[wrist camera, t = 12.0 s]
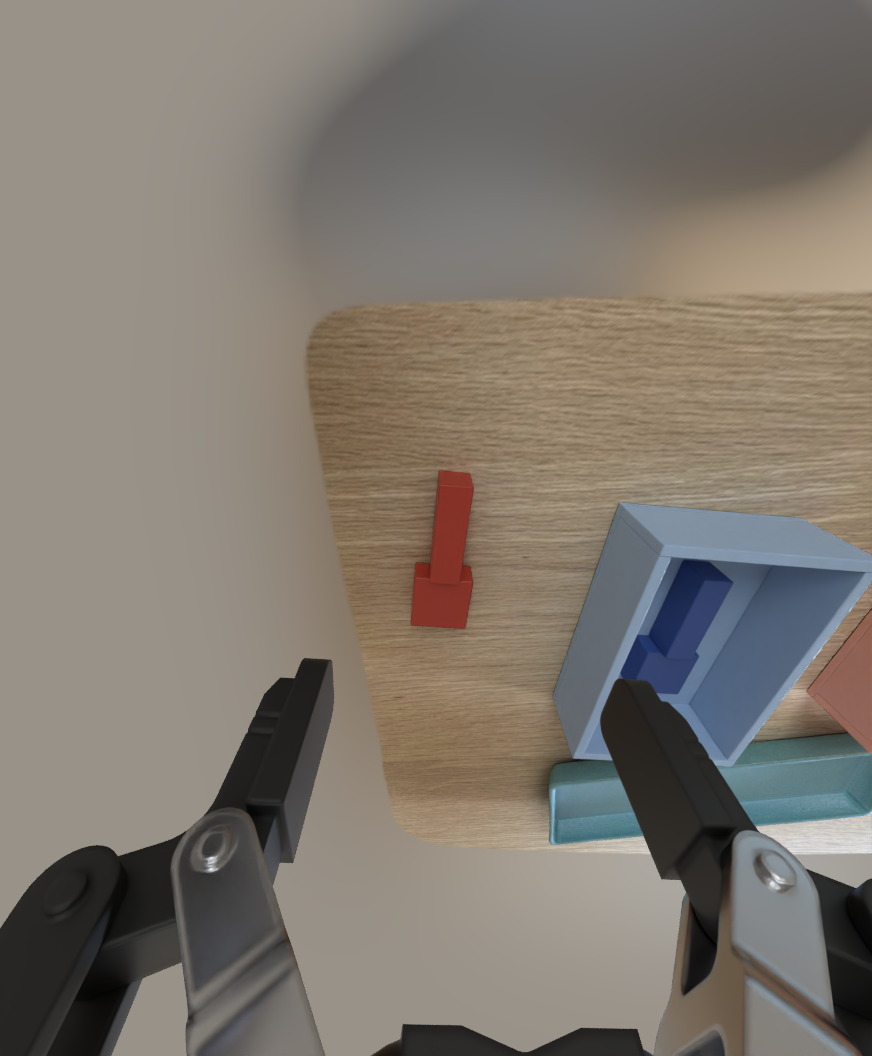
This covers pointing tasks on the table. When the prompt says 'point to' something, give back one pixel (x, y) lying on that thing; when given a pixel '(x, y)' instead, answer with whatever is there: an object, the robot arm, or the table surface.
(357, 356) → the table surface
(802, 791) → the rectangular tray
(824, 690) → the red bin
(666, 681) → the blue stepped block
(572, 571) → the table surface
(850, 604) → the blue bin
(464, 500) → the red mallet block
